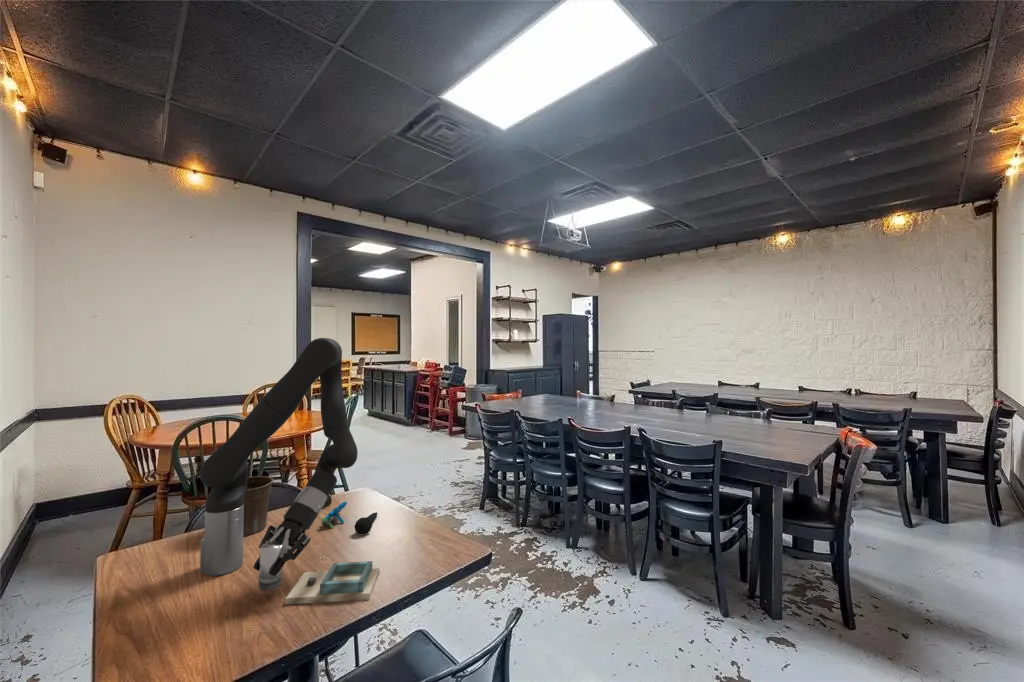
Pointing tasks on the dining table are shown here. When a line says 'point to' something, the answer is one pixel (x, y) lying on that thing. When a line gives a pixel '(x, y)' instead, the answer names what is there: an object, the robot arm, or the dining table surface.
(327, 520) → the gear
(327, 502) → the dark brown rod
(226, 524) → the robot arm
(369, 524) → the microphone
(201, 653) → the dining table surface
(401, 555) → the dining table surface
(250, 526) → the plant pot
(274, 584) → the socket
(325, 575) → the beige board with frame
